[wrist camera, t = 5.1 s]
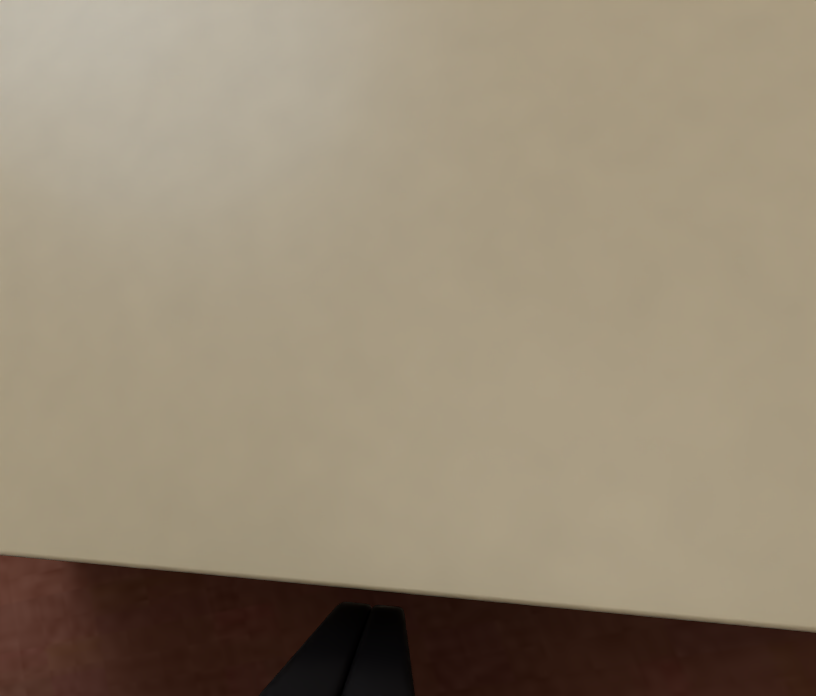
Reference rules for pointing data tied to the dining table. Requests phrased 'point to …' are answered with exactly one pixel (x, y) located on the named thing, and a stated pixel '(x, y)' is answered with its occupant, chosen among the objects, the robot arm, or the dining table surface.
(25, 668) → the dining table surface
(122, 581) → the dining table surface
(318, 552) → the beige lidded box
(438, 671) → the dining table surface
